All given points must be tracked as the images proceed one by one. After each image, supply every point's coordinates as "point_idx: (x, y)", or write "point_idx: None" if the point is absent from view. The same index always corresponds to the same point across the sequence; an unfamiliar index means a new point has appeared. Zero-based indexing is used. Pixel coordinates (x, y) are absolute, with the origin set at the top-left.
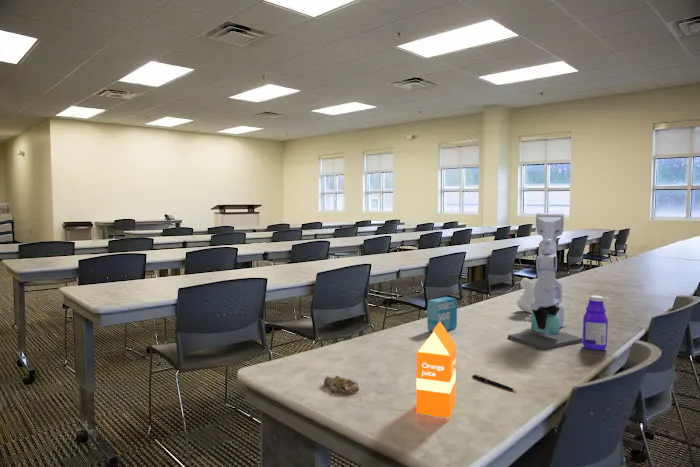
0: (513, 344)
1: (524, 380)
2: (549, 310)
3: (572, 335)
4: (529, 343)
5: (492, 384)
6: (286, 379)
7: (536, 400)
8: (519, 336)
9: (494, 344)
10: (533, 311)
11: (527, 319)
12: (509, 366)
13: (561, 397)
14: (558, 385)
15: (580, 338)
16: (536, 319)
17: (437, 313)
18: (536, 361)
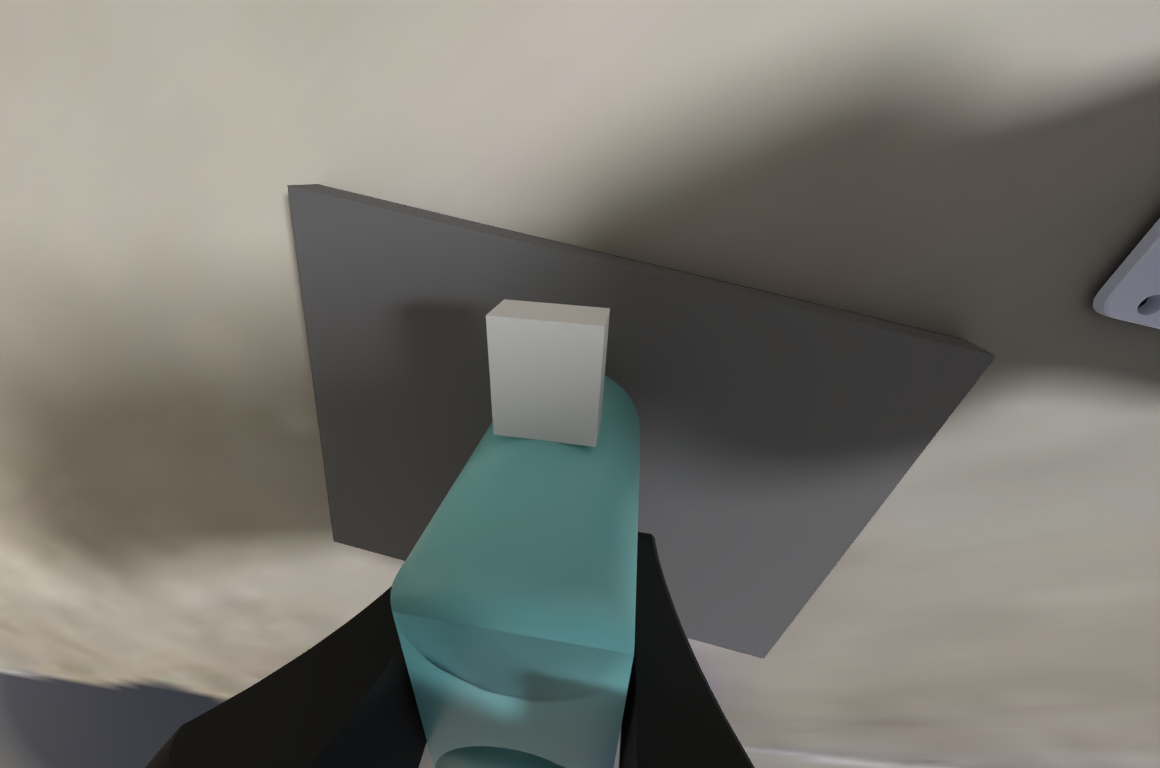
0: (250, 338)
1: (29, 595)
2: None
3: (802, 599)
4: (328, 450)
5: None
6: None
7: (6, 651)
8: (369, 311)
9: (84, 225)
10: (219, 725)
11: (494, 370)
12: (23, 510)
13: (90, 683)
14: (130, 665)
15: (747, 647)
16: (388, 593)
17: None
18: (194, 562)
